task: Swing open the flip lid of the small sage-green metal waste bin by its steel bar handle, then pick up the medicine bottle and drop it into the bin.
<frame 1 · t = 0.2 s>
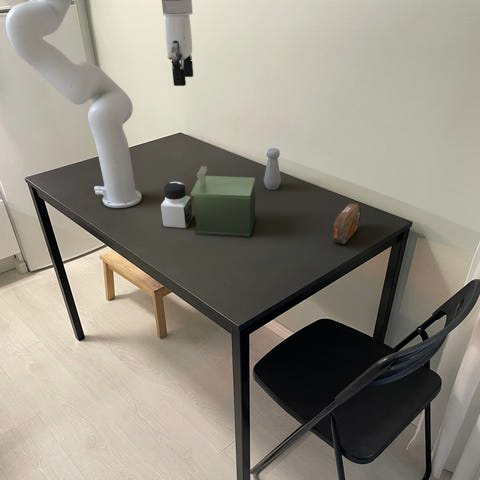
hand: (183, 81, 133), 37 cm above the table, tool pointing down, fingers open, 9 cm apart
medicine bottle: (178, 222, 147), on the table
bin: (226, 225, 145), on the table
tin: (345, 236, 138), on the table
salt shaker: (272, 187, 165), on the table
bin lid: (223, 179, 136), point 14 cm above the table, hinge at 0.0°
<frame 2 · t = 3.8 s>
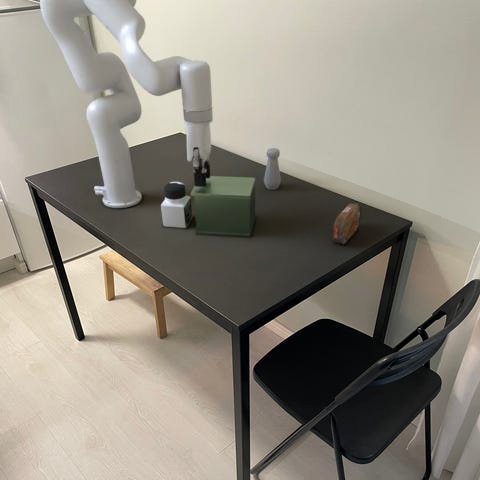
hand: (202, 181, 137), 14 cm above the table, tool pointing down, fingers closed on bin lid, 5 cm apart
bin lid: (223, 179, 136), point 14 cm above the table, hinge at 0.0°, touching gripper
everything else where it was.
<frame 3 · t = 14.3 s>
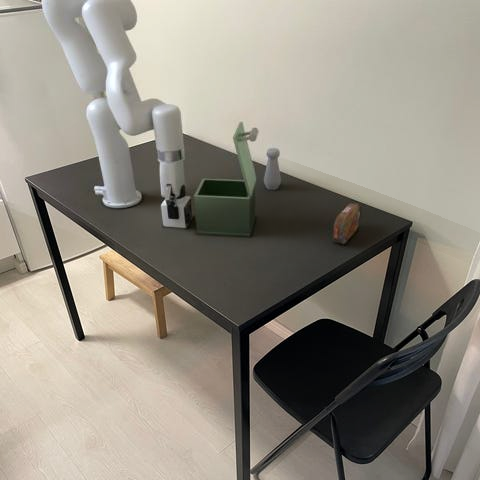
hand: (177, 211, 145), 3 cm above the table, tool pointing down, fingers closed on medicine bottle, 7 cm apart
medicine bottle: (178, 222, 147), on the table, touching gripper
bin lid: (253, 157, 131), point 21 cm above the table, hinge at 76.3°
everything else where it was.
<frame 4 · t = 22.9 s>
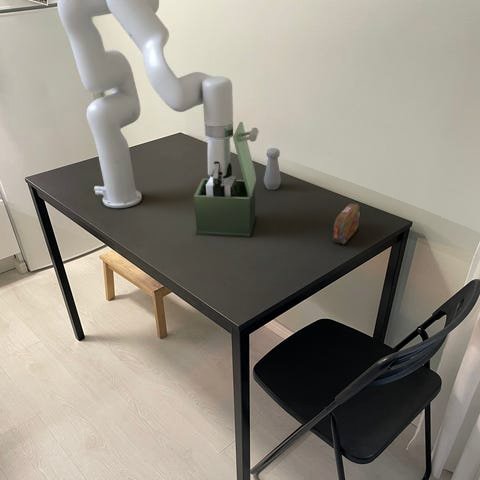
hand: (221, 192, 138), 10 cm above the table, tool pointing down, fingers closed on medicine bottle, 7 cm apart
medicine bottle: (222, 204, 140), point 7 cm above the table, touching gripper
everything else where it was.
when the fingers open (12 cm above the table, at t = 36.7 s): medicine bottle drops 8 cm, resting on bin.
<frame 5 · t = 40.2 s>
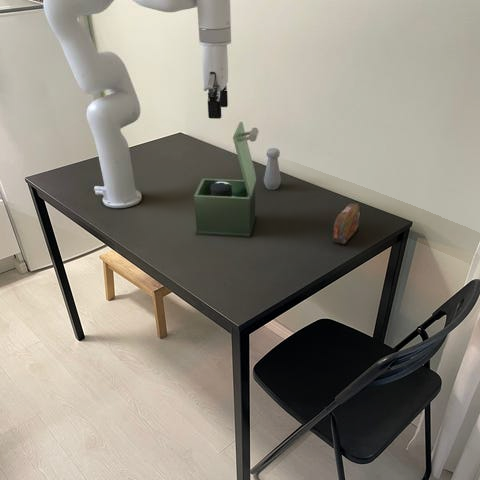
hand: (218, 112, 124), 32 cm above the table, tool pointing down, fingers open, 9 cm apart
medicine bottle: (222, 223, 144), point 1 cm above the table, touching bin
everything else where it was.
at the end: bin lid at +76° (first picture: +0°); medicine bottle inside the target area in the bin (1.2 cm from its centre), point 0.6 cm above the bin's base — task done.
